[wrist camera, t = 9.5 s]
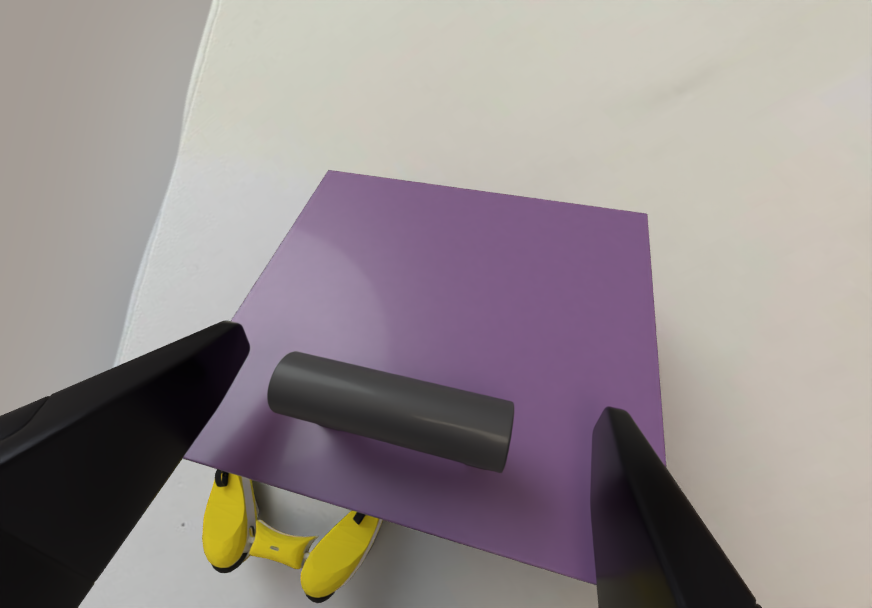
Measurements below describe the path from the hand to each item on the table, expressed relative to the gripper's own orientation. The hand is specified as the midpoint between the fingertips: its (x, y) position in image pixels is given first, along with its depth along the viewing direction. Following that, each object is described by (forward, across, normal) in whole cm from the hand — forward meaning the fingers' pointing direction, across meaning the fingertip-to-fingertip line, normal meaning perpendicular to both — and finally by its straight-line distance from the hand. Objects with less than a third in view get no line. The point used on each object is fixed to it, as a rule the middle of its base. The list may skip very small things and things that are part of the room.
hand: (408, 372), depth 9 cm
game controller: (+2, +7, +16) cm, 18 cm away
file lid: (+4, 0, +1) cm, 4 cm away
